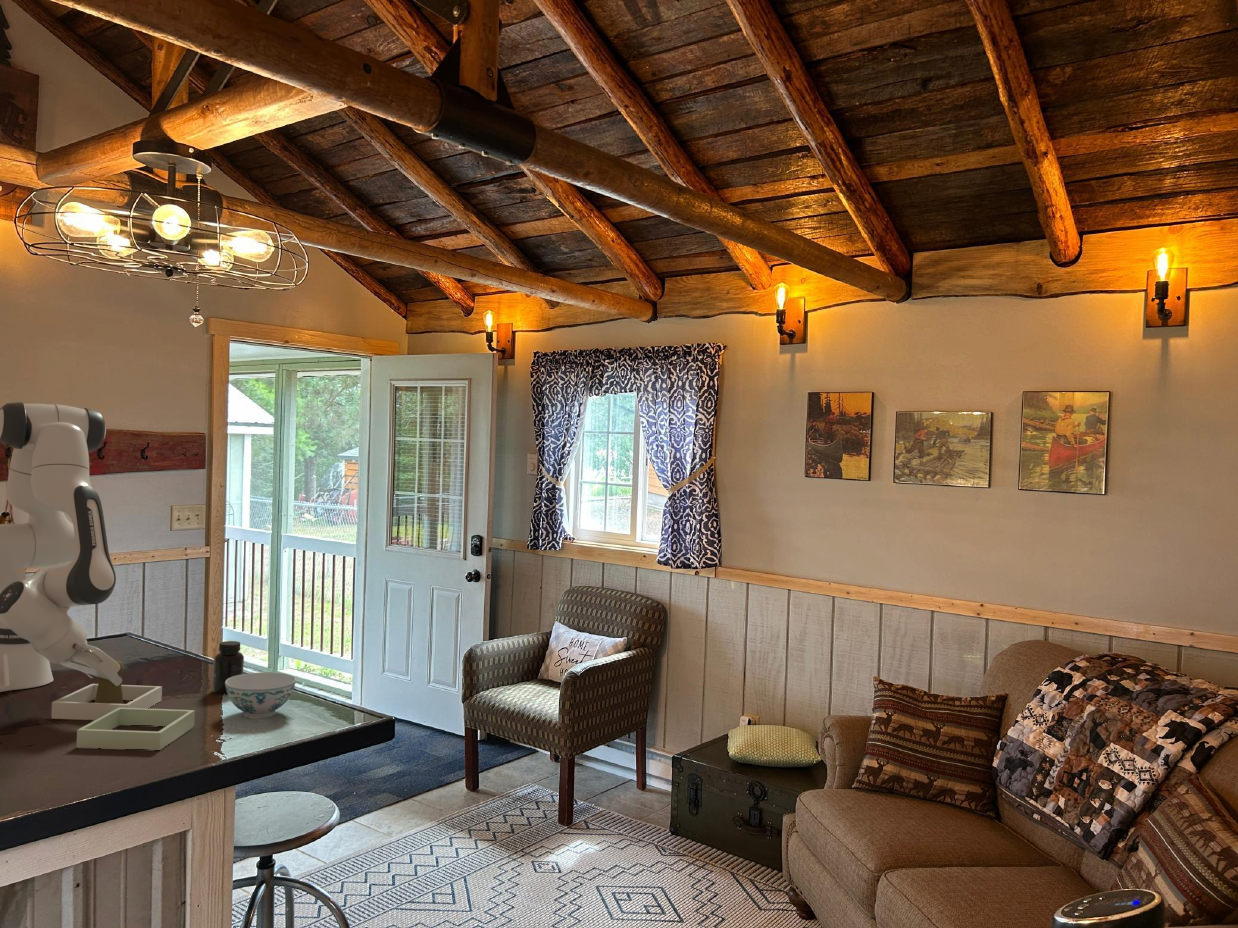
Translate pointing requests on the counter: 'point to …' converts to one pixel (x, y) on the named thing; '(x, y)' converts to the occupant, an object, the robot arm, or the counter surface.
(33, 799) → the counter surface
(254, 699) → the chinaware
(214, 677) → the supplement bottle
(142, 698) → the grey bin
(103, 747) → the sage bin
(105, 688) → the cork
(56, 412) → the robot arm
